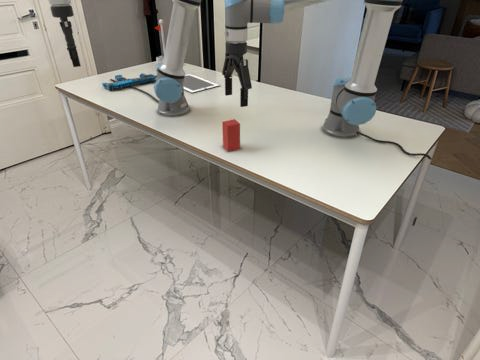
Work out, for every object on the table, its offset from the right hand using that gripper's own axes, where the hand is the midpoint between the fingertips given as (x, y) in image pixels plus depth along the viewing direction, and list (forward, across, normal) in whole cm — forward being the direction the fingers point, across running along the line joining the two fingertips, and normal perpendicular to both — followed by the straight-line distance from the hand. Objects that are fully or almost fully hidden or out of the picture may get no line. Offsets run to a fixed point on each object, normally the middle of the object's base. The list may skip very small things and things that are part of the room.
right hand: (236, 100), depth 129 cm
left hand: (-9, -46, -52) cm, 70 cm away
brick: (+19, +2, -3) cm, 19 cm away
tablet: (+19, -86, +10) cm, 88 cm away
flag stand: (+19, -133, +8) cm, 134 cm away
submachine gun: (+19, -104, -22) cm, 108 cm away
